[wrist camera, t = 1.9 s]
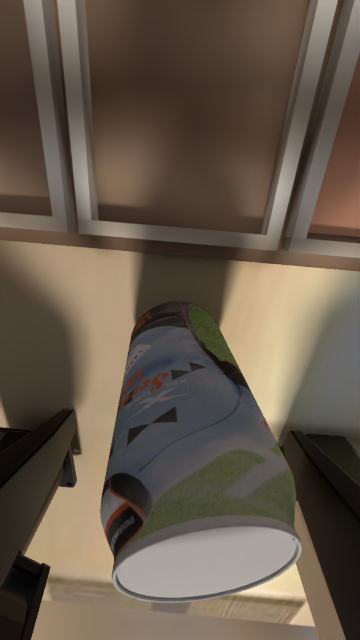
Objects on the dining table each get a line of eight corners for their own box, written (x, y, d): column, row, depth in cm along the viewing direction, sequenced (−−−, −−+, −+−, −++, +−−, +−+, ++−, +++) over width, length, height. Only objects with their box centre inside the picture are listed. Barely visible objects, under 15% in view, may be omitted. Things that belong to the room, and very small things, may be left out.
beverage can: (147, 284, 15) (21, 462, 4) (250, 316, 15) (403, 552, 4) (127, 360, 17) (16, 603, 6) (217, 385, 18) (261, 648, 7)
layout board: (446, 276, 14) (485, 284, 12) (-85, 230, 14) (-126, 231, 12) (612, -21, 9) (721, -84, 7) (-200, -83, 9) (-296, -159, 7)
